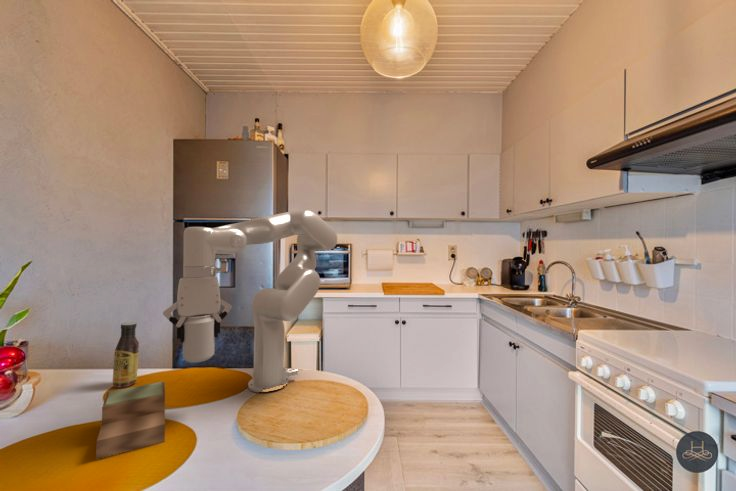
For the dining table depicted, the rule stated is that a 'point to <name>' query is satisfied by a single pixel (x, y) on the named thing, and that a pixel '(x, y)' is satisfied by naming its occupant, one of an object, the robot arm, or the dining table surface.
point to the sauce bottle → (126, 357)
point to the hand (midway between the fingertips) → (199, 338)
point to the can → (198, 338)
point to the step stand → (132, 419)
